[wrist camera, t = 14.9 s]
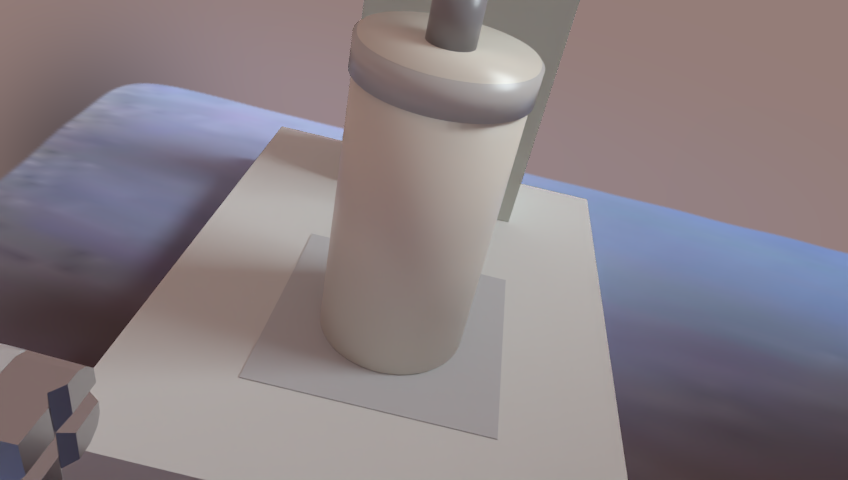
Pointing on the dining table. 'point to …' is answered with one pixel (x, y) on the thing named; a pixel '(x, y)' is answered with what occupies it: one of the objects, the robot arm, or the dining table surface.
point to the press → (339, 377)
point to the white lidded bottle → (421, 180)
